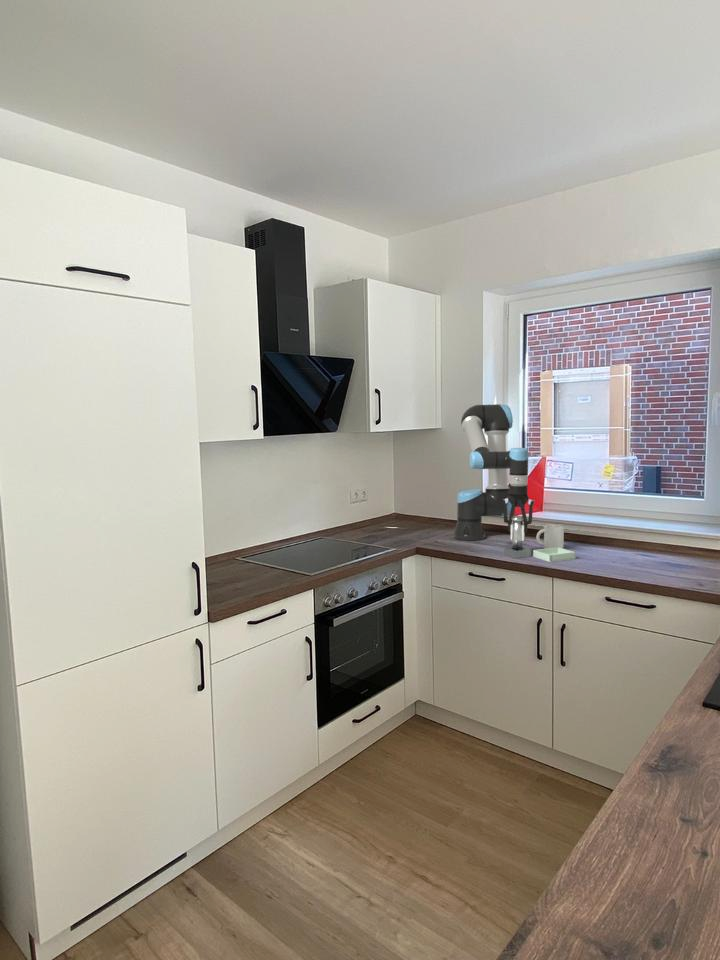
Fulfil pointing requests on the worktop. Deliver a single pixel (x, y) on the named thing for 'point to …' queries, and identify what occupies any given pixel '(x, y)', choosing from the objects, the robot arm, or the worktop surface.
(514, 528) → the pin
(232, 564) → the worktop surface
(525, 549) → the hitch plate
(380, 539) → the worktop surface
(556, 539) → the mug
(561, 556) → the tray
